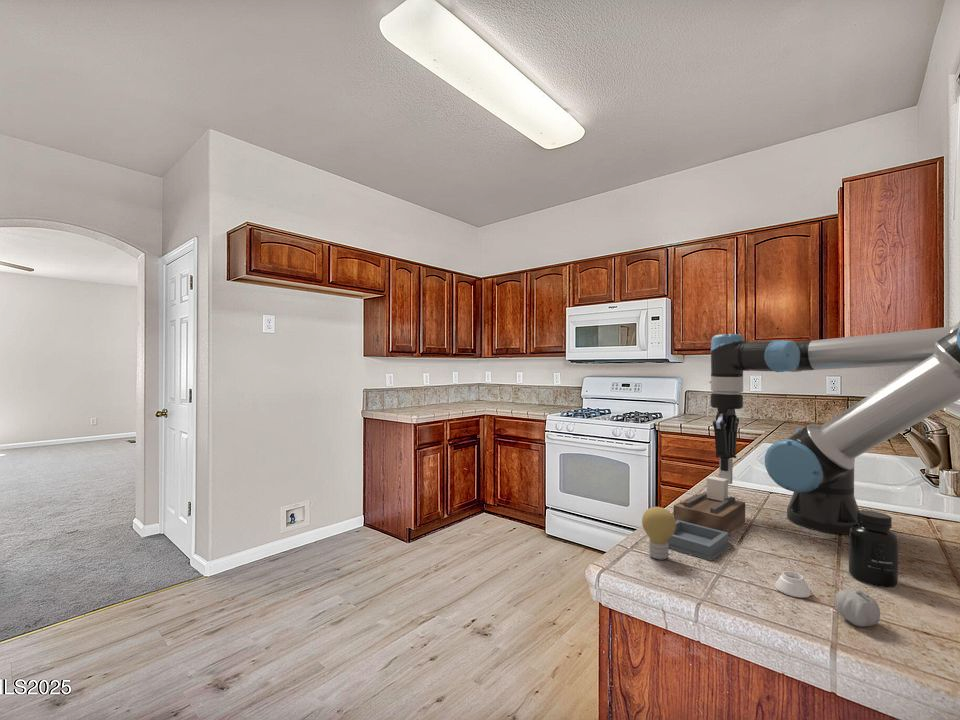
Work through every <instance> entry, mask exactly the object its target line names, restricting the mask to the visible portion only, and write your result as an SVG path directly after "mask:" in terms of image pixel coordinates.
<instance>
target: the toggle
mask: <svg viewBox="0 0 960 720" xmlns="http://www.w3.org/2000/svg"><path fill="white" fill-rule="evenodd" d="M706 491H707V498H709V499H714V500H719V501H724V500H725V499H727V498H729V484H728V479H724V478H719V477H718V476H712V475H711V476H708V477H707V478H706Z"/></svg>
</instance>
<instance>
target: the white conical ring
mask: <svg viewBox="0 0 960 720" xmlns="http://www.w3.org/2000/svg"><path fill="white" fill-rule="evenodd" d="M774 587H775V588H776V589H777V590H778V591H779V592H781V593H782V594H785V595H787V596H790V597H793V598H799V599H800V598H801V599H802V598H808V597H810V596H811V595H812V591H811V589H810V588H809V585H808V583H807V582H806V580H805V577H804V576H803V575H802V574H799V573H798V572H795V571H788V570H785V571H782V573H781V575H780V576H779V577H778V578H777V580H776V582H775V583H774Z"/></svg>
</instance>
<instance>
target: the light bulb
mask: <svg viewBox="0 0 960 720" xmlns="http://www.w3.org/2000/svg"><path fill="white" fill-rule="evenodd" d="M641 524H642V528H643V530H644V532H645V534H646V535H647V536H648V538H649V539H648V554H649V556H650V557H652V558H654V559H655V560H661V561H662V560H666V559H667V558H668V557H669V556H670V554H669V550H670V548H668V547H669V543H668V542H667V541H668V540H669V539H670V538H671V536H672V535H673V534H674V532H675V529H676V521H675V518H674V514H672V512H671V511H669V510H668V509H667V508H664V507H660V506H653V507H650V508H647V509H645V511H644V512H643V515H642V518H641Z"/></svg>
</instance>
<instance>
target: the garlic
mask: <svg viewBox="0 0 960 720" xmlns="http://www.w3.org/2000/svg"><path fill="white" fill-rule="evenodd" d="M834 607H835V609H836V611H837V613H838V614H839V615H840V616H841V617H842V618H844V619H845V620H846V621H847V622H849V623H850V624H852V625H854V626H857V627H862V628H863V627H871V626H873V625H875V624H878V623H879V621H880V619H881V610H880V606H879V604H878V602H877V601H876V599H874V598H873V597H872V596H870V595H869V594H868V593H867V592H865V591H863V590H862V589H859V588H858V589H850V588H848V589H845V588H844V589H842V590H839V591H837V594H836V595H835V596H834Z"/></svg>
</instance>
